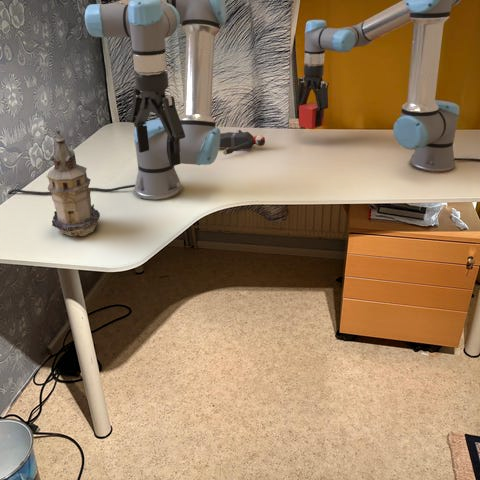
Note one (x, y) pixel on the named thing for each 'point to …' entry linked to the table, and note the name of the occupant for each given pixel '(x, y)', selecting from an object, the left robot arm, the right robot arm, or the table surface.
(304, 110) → the red cube
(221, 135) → the toy
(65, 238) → the table surface
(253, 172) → the table surface
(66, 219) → the miniature building
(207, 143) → the left robot arm
